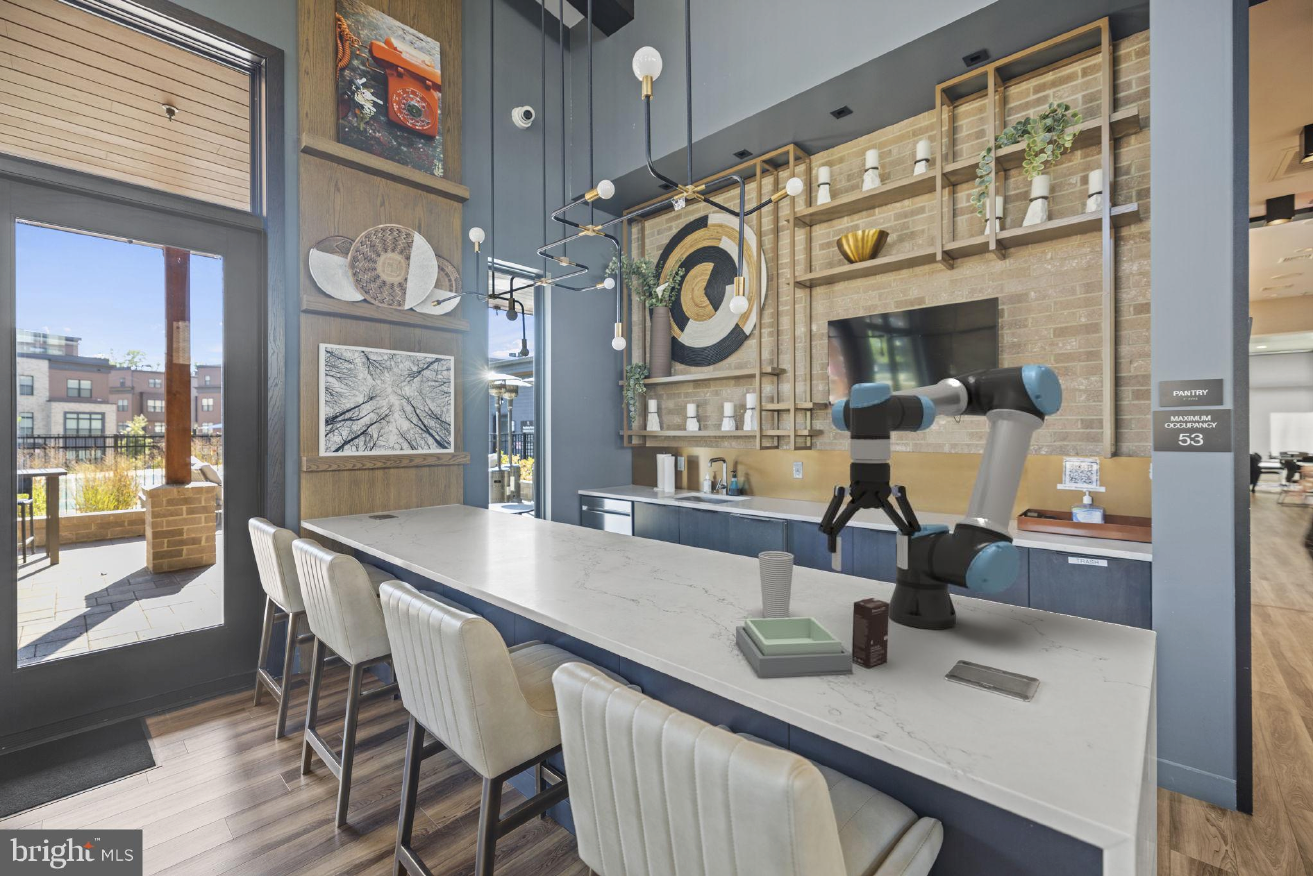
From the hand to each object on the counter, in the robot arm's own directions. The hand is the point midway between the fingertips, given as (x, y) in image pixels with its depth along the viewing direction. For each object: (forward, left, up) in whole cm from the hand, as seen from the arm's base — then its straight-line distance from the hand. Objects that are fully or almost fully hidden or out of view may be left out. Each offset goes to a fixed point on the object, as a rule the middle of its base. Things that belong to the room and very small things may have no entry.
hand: (869, 568), depth 115 cm
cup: (+10, -29, -19) cm, 36 cm away
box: (0, 0, -19) cm, 19 cm away
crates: (+15, -4, -19) cm, 24 cm away
